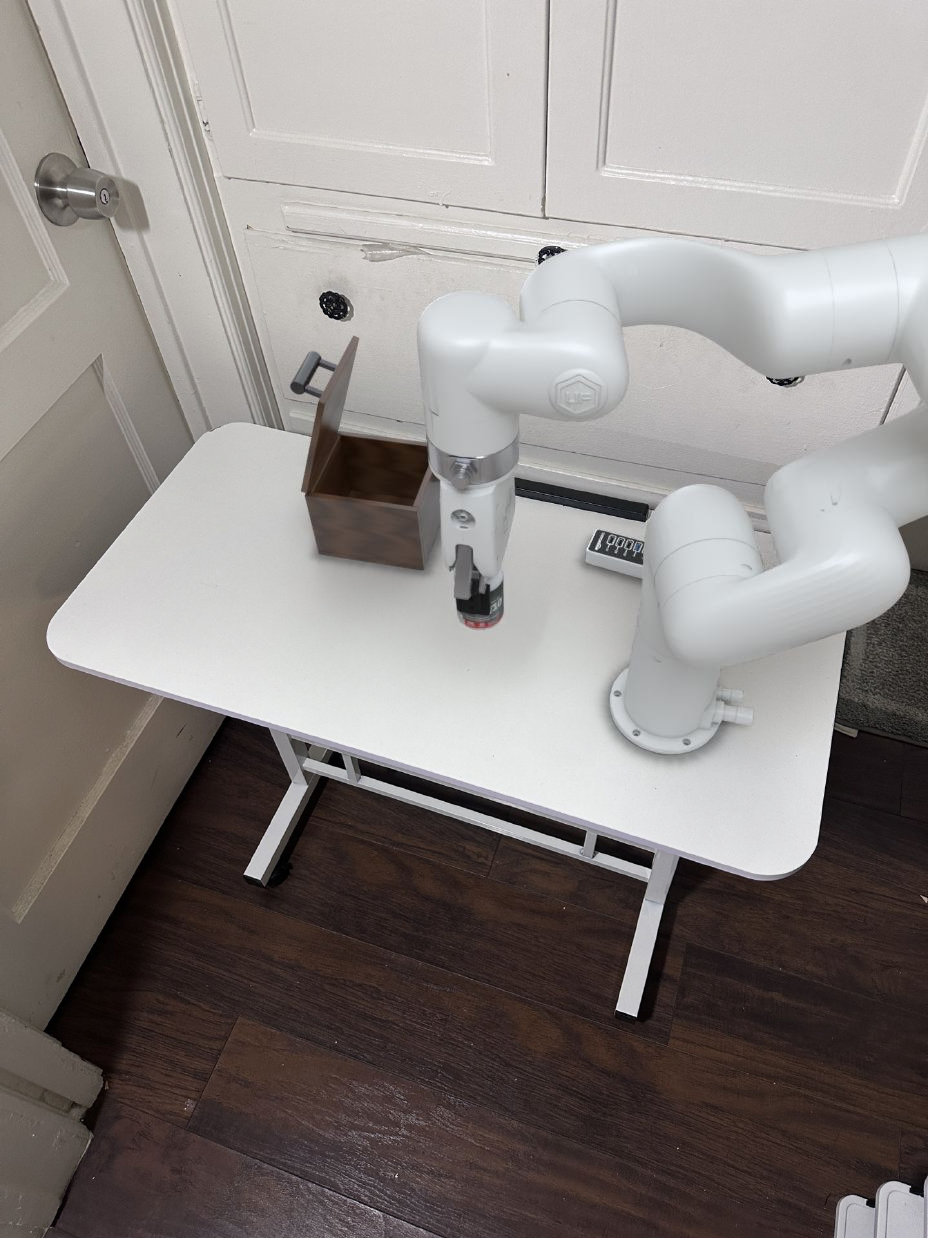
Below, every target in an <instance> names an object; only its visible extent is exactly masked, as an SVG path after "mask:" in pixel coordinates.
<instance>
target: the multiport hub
mask: <svg viewBox="0 0 928 1238" xmlns="http://www.w3.org/2000/svg"><path fill="white" fill-rule="evenodd" d="M643 554H644V540H642V539H638V538H635V537H631V536H629V535H628V536H627V535H624V534H620V533H616V532H614V531H613V532H612V531H609V530H605V529H602V528H596V529H595V530H594V532H593V535H592V536H591V538H590V541H589V542H588V545H587V547H586V550H585V560H584V561H585V563H586V564H588V565H592V566H595V567H598V568H602V569H606V570H609V571H613V572H616V573H619V574H623V575H627V576H630V577H634V578H638V579H641V580H642V577H643Z"/></svg>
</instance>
